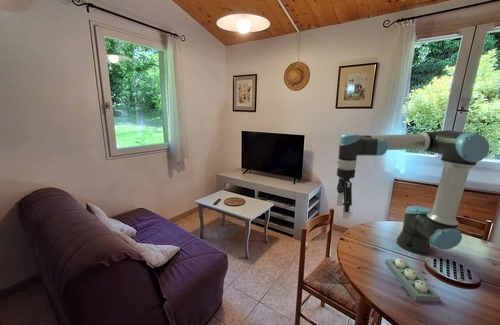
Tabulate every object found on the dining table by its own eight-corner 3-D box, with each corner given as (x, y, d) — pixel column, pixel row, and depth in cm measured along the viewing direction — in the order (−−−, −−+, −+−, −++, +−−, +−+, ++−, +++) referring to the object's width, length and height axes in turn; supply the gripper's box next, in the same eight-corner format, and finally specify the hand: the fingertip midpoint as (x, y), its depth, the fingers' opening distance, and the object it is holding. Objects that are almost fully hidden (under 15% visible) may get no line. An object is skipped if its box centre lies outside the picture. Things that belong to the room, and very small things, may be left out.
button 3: (422, 286, 93) (423, 279, 92) (429, 294, 89) (431, 287, 88) (411, 286, 93) (413, 279, 93) (418, 294, 89) (420, 287, 89)
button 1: (401, 264, 107) (402, 258, 106) (407, 270, 103) (408, 264, 102) (392, 264, 107) (393, 257, 106) (397, 270, 103) (398, 263, 102)
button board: (403, 264, 109) (404, 260, 108) (438, 301, 88) (439, 296, 87) (384, 263, 109) (385, 259, 109) (415, 300, 88) (416, 295, 87)
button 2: (411, 274, 100) (412, 268, 99) (417, 281, 96) (418, 275, 95) (401, 274, 100) (402, 268, 99) (407, 281, 96) (408, 274, 95)
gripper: (333, 161, 114) (329, 200, 118) (343, 175, 90) (338, 223, 95) (348, 162, 112) (344, 201, 117) (363, 176, 88) (357, 224, 93)
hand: (342, 211), depth 106 cm, fingers open, 13 cm apart
